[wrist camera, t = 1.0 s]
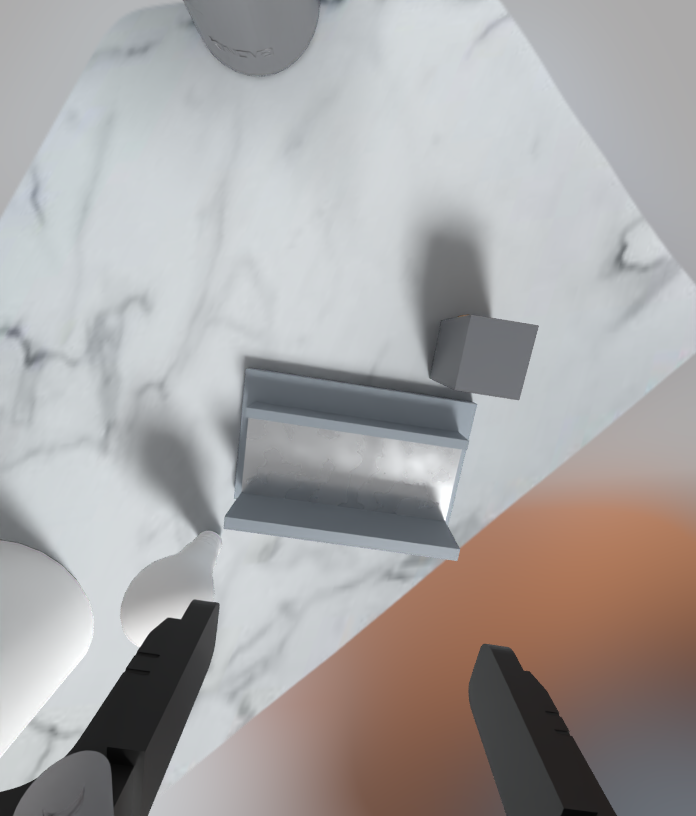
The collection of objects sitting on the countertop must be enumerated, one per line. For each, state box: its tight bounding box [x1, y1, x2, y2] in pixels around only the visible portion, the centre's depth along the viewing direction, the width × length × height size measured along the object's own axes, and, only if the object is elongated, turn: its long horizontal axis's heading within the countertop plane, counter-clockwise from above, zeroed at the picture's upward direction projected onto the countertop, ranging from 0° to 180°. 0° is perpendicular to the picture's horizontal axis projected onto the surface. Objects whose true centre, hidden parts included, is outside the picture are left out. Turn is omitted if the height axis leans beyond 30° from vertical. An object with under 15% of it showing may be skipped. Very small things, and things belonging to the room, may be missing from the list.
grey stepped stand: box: [224, 368, 477, 561], centre depth 27 cm, size 12×20×6 cm, turn 81°
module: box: [430, 314, 539, 400], centre depth 26 cm, size 5×4×7 cm
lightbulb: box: [120, 531, 222, 647], centre depth 27 cm, size 6×6×11 cm
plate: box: [241, 418, 462, 521], centre depth 29 cm, size 7×18×2 cm, turn 81°
